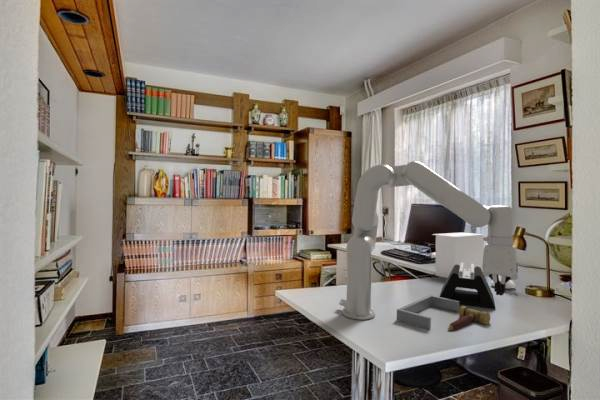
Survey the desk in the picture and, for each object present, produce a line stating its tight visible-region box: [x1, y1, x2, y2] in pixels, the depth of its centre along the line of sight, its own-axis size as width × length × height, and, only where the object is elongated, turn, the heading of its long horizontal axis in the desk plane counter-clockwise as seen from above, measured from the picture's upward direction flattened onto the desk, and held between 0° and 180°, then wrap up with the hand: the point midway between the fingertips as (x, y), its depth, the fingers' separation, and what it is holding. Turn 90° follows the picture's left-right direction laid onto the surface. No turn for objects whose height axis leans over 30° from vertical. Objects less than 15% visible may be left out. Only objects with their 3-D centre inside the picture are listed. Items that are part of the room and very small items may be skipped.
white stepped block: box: [430, 231, 485, 279], centre depth 217 cm, size 45×18×25 cm, turn 123°
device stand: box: [438, 263, 496, 310], centre depth 160 cm, size 22×22×15 cm
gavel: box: [447, 305, 491, 331], centre depth 127 cm, size 21×5×10 cm
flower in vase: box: [490, 275, 516, 290], centre depth 182 cm, size 13×11×25 cm
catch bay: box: [396, 294, 460, 330], centre depth 137 cm, size 12×29×4 cm, turn 136°
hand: (499, 294), depth 119 cm, fingers closed
